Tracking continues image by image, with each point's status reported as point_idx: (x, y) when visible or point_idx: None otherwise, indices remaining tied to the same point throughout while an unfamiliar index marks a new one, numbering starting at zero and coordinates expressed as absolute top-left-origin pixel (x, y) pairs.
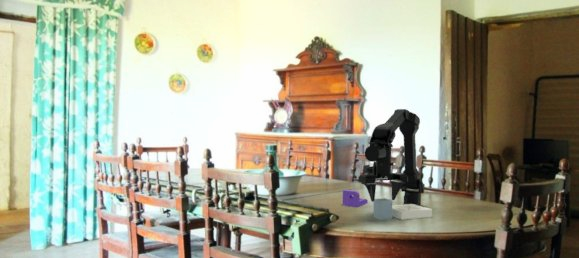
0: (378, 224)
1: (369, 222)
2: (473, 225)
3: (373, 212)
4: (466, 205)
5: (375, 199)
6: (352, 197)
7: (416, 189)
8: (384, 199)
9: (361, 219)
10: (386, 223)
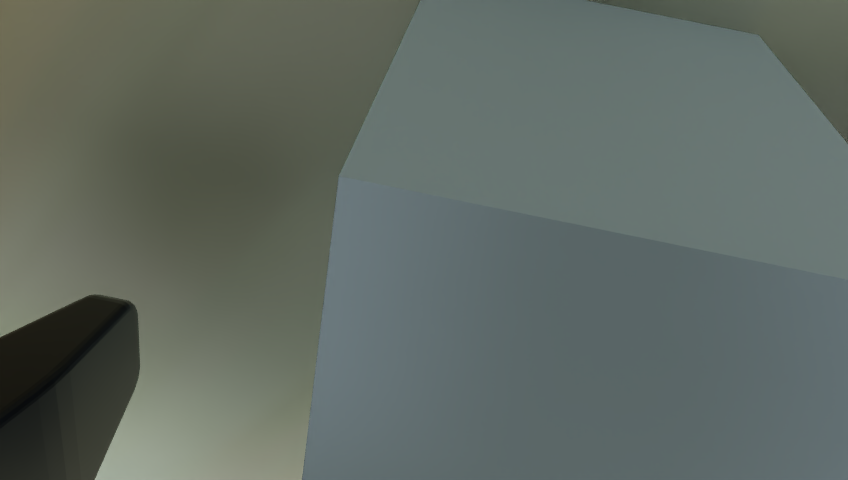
0: (136, 418)
1: (68, 269)
2: None
3: (419, 3)
4: None
5: (349, 282)
6: None
7: None
8: (687, 455)
9: (39, 4)
10: (293, 439)
